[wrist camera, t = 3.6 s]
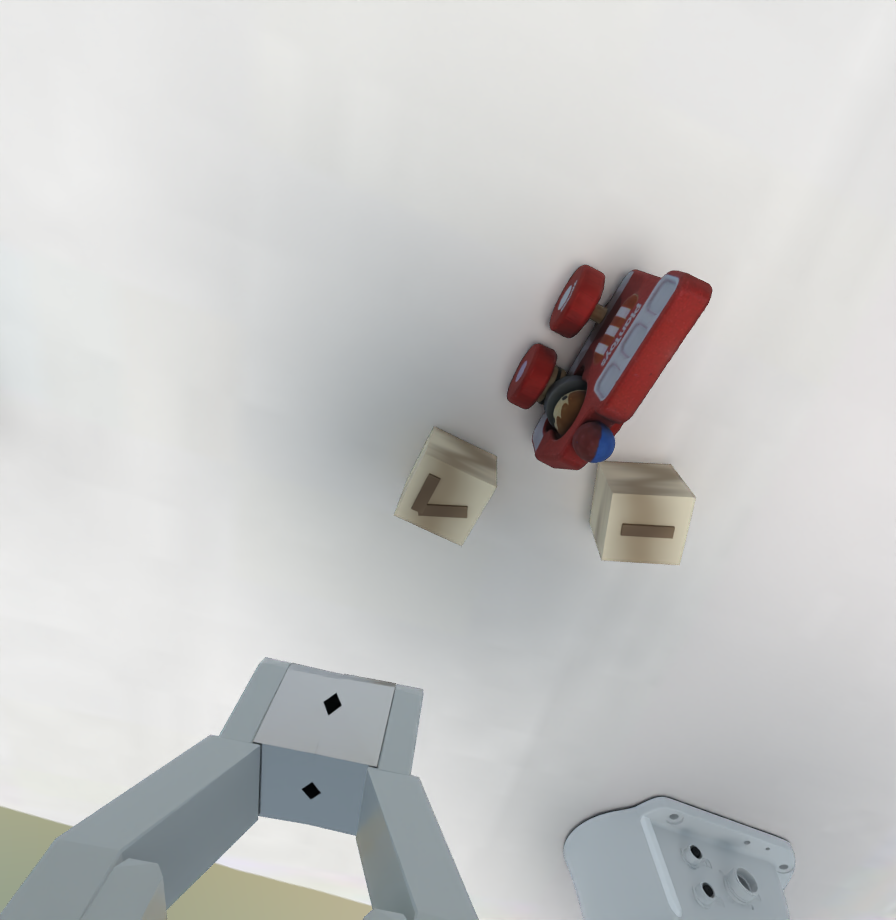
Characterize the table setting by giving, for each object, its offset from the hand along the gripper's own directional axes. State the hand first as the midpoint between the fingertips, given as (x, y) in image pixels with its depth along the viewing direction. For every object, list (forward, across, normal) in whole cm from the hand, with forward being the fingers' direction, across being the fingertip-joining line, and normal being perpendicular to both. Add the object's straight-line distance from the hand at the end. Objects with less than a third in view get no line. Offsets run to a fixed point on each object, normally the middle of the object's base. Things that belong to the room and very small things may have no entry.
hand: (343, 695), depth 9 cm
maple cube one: (+27, -14, +7) cm, 31 cm away
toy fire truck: (+27, -8, -2) cm, 29 cm away
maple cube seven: (+27, -1, +8) cm, 28 cm away
